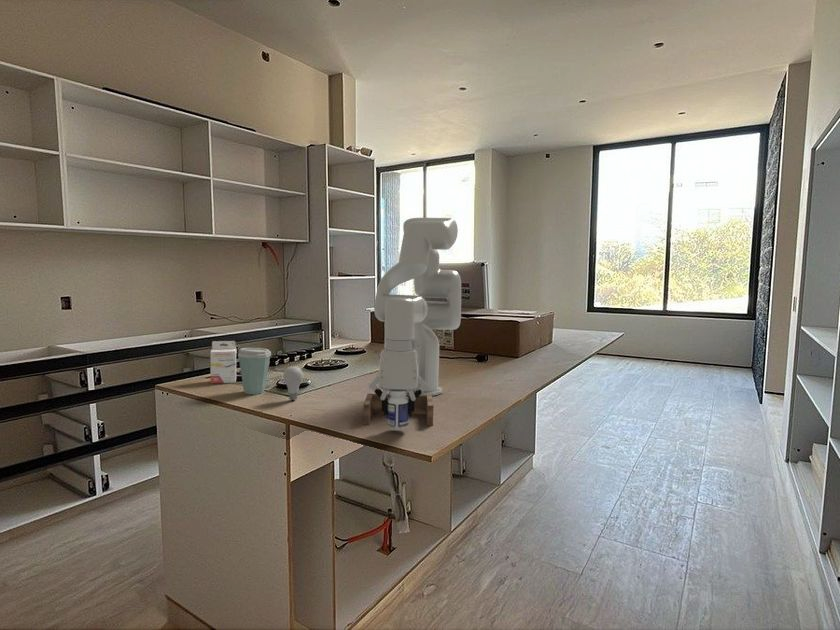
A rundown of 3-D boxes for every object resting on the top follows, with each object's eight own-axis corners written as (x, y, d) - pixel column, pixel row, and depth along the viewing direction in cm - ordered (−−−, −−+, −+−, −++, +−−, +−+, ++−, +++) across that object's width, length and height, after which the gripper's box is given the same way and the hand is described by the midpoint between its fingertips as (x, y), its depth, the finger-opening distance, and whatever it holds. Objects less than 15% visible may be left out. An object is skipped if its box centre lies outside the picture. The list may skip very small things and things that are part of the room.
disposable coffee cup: (256, 386, 167) (256, 344, 166) (278, 391, 162) (278, 347, 161) (231, 393, 158) (230, 348, 157) (253, 398, 153) (253, 352, 151)
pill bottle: (408, 423, 127) (409, 386, 126) (408, 430, 121) (409, 392, 120) (387, 423, 127) (387, 386, 126) (386, 430, 121) (386, 392, 120)
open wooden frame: (367, 411, 141) (367, 393, 141) (431, 412, 142) (431, 394, 141) (363, 424, 130) (363, 404, 129) (432, 425, 130) (433, 405, 130)
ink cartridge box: (210, 384, 170) (209, 343, 169) (211, 380, 175) (210, 341, 173) (236, 382, 173) (235, 342, 171) (236, 379, 177) (236, 340, 176)
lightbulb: (295, 404, 147) (295, 369, 146) (279, 401, 150) (279, 367, 148) (307, 399, 153) (307, 365, 152) (290, 397, 155) (290, 363, 154)
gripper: (432, 343, 126) (430, 410, 128) (366, 342, 126) (366, 409, 127) (433, 348, 118) (431, 419, 120) (364, 347, 118) (363, 418, 120)
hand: (397, 413), depth 124 cm, fingers closed on pill bottle, 5 cm apart
